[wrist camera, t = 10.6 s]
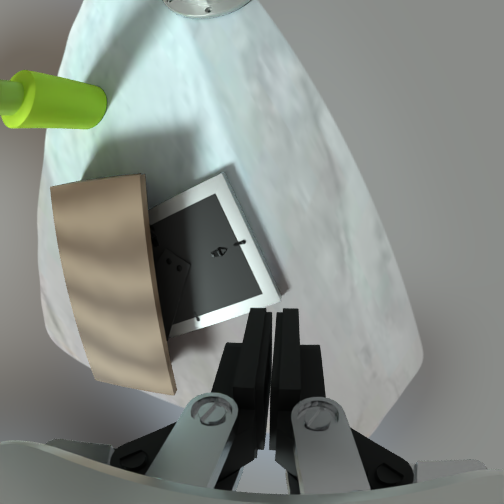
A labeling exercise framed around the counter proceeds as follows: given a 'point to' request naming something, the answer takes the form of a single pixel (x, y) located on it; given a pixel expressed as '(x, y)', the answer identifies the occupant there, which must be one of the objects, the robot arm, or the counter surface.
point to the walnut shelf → (113, 280)
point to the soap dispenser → (50, 102)
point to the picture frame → (207, 259)
